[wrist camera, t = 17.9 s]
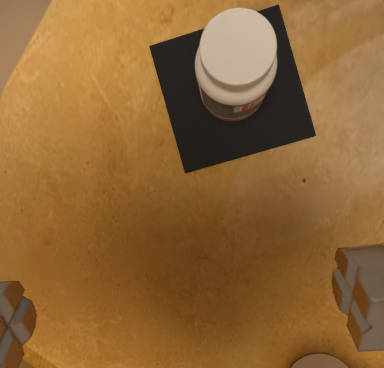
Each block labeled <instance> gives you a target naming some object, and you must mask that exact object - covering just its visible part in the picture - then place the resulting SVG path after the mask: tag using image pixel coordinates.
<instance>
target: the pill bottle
mask: <svg viewBox="0 0 384 368" xmlns="http://www.w3.org/2000/svg"><path fill="white" fill-rule="evenodd" d="M276 51H277V40H276V35H275V32H274V29H273V28H272V26H271V24H270V23H269V21H268V20H267V19H266V18H265V17H264V16H263V15H261V14H260V13H258V12H256V11H254V10H251V9H247V8H232V9H228V10H225V11H223V12H221V13H219V14H218V15H216V16H215V17H214V18H213V19H212V20H211V21H210V22H209V23H208V24H207V26H206V27H205V29H204V31H203V33H202V36H201V40H200V46H199V48H198V50H197V53H196V58H195V74H196V79H197V82H198V86H199V91H200V95H201V98H202V101H203V103H204V105H205V107H206V108H207V110H208V111H209V112H210V113H211V114H212V115H214V116H215V117H217V118H219V119H221V120H224V121H240V120H243V119H246V118H248V117H249V116H251V115H252V114H253V113H255V112H256V111H257V110H258V108H259V107H260V106H261V104H262V102H263V100H264V98H265V96H266V94H267V92H268V90H269V88H270V87H271V85H272V83H273V81H274V78H275V75H276V70H277V54H276Z"/></svg>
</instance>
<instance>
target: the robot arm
mask: <svg viewBox="0 0 384 368" xmlns="http://www.w3.org/2000/svg"><path fill="white" fill-rule="evenodd" d="M335 261H336V264H337V266H338V267H337V268H336V269H335V270H334V271H333V273H332V288H333V294H334V297H335V300H336V303H337V305H338V307H339V310H341V311H342V312H343V313H345V314H346V315H347V316H348V321H347V328H348V330H349V332H350V334H351V337H352V339H353V341H354V343H355V346H356V348H357V350H358V352H364V351H382V350H384V243H381V244H371V245H362V246H353V247H343V248H338V249H337V251H336V253H335ZM24 290H25V289H24V288H23V286H22V285H21V283H20V282H19V281H5V282H0V368H19V365H20V363H21V361H22V358H23V356H24V350H23V347H22V345H24V344H25V343H26V342H27V341H28V340H29V339H30V338H31V337H32V334H33V332H34V329H35V326H36V317H37V314H36V310H35V306H34V304H33V303H32V301H31V300H29V299H27V298H26V297H24V296H22V295H23V293H24Z"/></svg>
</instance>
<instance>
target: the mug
mask: <svg viewBox="0 0 384 368" xmlns="http://www.w3.org/2000/svg"><path fill="white" fill-rule="evenodd" d="M291 368H348V367H347V366H346V365H345V364H344V363H343V362H342V361H340V360H339V359H337V358H335V357H333V356H330V355H327V354H311V355H307V356H304V357H302V358H301V359H299V360H298V361H296V362H295V363H294V364H293V365H292V367H291Z"/></svg>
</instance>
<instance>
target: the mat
mask: <svg viewBox="0 0 384 368" xmlns="http://www.w3.org/2000/svg"><path fill="white" fill-rule="evenodd" d="M257 12H258V13H260V14H261V15H263V16H264V17H265V18H266V19H267V20H268V21H269V23H270V24H271V26H272V28H273V29H274V32H275V35H276V40H277V51H276V54H277V70H276V75H275V78H274V81H273V83H272V85H271V87H270V88H269V90H268V92H267V94H266V96H265V98H264V100H263V102H262V104H261V106H260V107H259V108H258V110H257V111H256V112H255V113H253V114H252V115H251V116H249V117H248V118H246V119H243V120H240V121H224V120H221V119H219V118H217V117H215V116H214V115H212V114H211V113H210V112H209V111H208V110H207V108H206V107H205V105H204V103H203V101H202V98H201V95H200V91H199V86H198V82H197V79H196V74H195V58H196V53H197V50H198V48H199V46H200V40H201V36H202V33H203V31H204V29H201V30H198V31H195V32H192V33H189V34H186V35H183V36H180V37H177V38H174V39H170V40H167V41H164V42H161V43H158V44H155V45H152V46H150V50H151V53H152V57H153V61H154V64H155V68H156V71H157V75H158V78H159V82H160V85H161V89H162V92H163V96H164V100H165V103H166V107H167V110H168V114H169V117H170V121H171V124H172V128H173V131H174V135H175V139H176V142H177V146H178V149H179V153H180V156H181V160H182V163H183V167H184V170H185V173H188V172H191V171H195V170H198V169H202V168H205V167H209V166H212V165H216V164H219V163H223V162H226V161H230V160H233V159H237V158H240V157H243V156H247V155H250V154H254V153H257V152H261V151H264V150H268V149H271V148H275V147H278V146H282V145H285V144H289V143H292V142H296V141H299V140H303V139H306V138H310V137H313V136H316V134H315V131H314V127H313V124H312V120H311V116H310V113H309V109H308V106H307V102H306V99H305V95H304V92H303V88H302V85H301V81H300V78H299V74H298V71H297V67H296V64H295V60H294V57H293V53H292V50H291V46H290V43H289V39H288V36H287V32H286V29H285V25H284V22H283V18H282V15H281V11H280V8H279V5H276V6H273V7H270V8H267V9H264V10H260V11H257Z"/></svg>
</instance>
